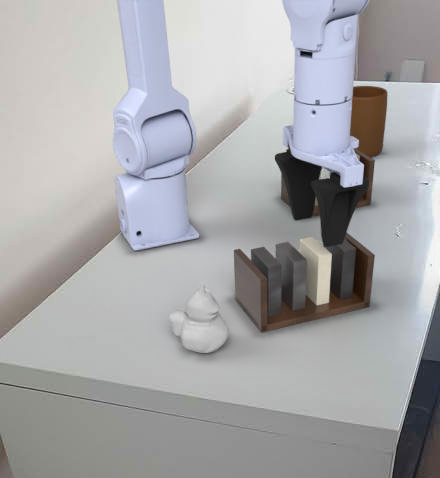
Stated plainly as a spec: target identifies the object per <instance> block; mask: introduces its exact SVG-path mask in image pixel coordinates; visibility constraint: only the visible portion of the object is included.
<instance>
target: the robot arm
mask: <svg viewBox="0 0 440 478" xmlns="http://www.w3.org/2000/svg"><path fill="white" fill-rule="evenodd" d="M281 1H282V6H283V9H284V12H285V15H286V16H287V19H288V21H289V25H290V41H291V42H292V46H293V48H294V67H293V69H294V70H293V71H294V72H293V73H294V74H293V119H292V122H293V123H292V124H291V125H285V126H284V125H283V126H282V130H283V131H282V135H283V136H282V145H283V146H285V147H286V150H285V151H283V152H278V153H276V154H275V155H274V161H275V163H276V165H277V167H278V169H279V171H280V173H282V176H283V179H284V182H285V185H286V188H287V193H288V197H289V202H290V206H289V208H290V212H291V215H292V220H294V221H302V220H306V219H307V220H308V219H311V218H313V217H312V215H313V211H314V206H315V199H316V198H317V202H318V206H319V211H320V215H319V218H320V219H319V220H320V236H321V242H322V246H323V245H324V246H325V247H330V246H335V245H339V244H343V241H344V238H345V235H346V232H347V233H348V230H349V226H350V224H351V220H352V217H353V215H354V212H355V210H356V209H357V208H356V206H357V205H358V203H359V201H360V199H361V198H362V196H363V195H364V193H365V192H366V191H367V189H368V188H369V180H368V179H367V178H366V177H364V176H363V171H364V164H362V163H361V162H360V161H359V160H358V158H357V156H356V154H355V151H354V149H353V148H358V146H359V140H358V139H356V138H355V137H353V136H350V125H351V111H352V96H353V87H354V83H355V82H354V80H355V69H356V68H355V67H356V66H355V65H356V54H357V53H356V51H357V37H358V21H359V15H360V14H361V13H363V11H364V10H365V9H366V8H367V6H368V5H369V3H370V1H371V0H281ZM116 4H117V12H118V19H119V26H120V33H121V41H122V50H123V56H124V64H125V69H126V70H125V71H126V78H127V86H128V88H127V91H126V92H125V93H124V95H123V96H122V98H121V99H120V100H119V101H118V103H117V104H116V106H115V107H114V109H113V110H112V116H113V132H112V149H113V152H114V155H115V158H116V160H117V162H118V163H119V165H120V166H121V168H122V169H123V170H124V171H125V173H121V174H119V175H116V176H114V191H115V197H116V205H117V212H118V219H119V225H120V226H119V230H120V232H121V233H122V235H123V238H125V239H126V241H127V242H128V245H129V246H130V247H131V249H132V251H133V250H134V251H141V250H146V249H151V248H155V247H160V246H165V245H171V244H176V243H182V242H186V241H191V240H195V239H196V240H197V239H199V238H200V233H199V232H198V231H197V229H196V228H195V227H194V226H193V225H192V223H190V216H189V204H188V202H189V201H188V191H187V190H188V189H187V179H186V178H187V177H186V167H187V166H189V165H190V156H192V155H193V154H194V151H195V149H196V148H197V147H196V146H197V130H196V127H195V124H194V121H193V119H192V116H191V112H190V102H189V99H188V98H187V97H186V96H185V95H183V93H182V92H180V91H179V90H177V89H176V88H175V87H174V86H173V83H172V82H173V81H172V73H171V72H172V71H171V62H170V52H169V43H168V41H169V40H168V33H167V32H168V31H167V22H166V12H165V3H164V0H116ZM323 169H325V171H327V172H328V173H329V177H327V178H321V179H320V180H319V176H320V173H321V174H322V170H323Z"/></svg>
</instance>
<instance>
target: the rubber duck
mask: <svg viewBox="0 0 440 478" xmlns="http://www.w3.org/2000/svg"><path fill="white" fill-rule="evenodd" d="M220 310H221V306H220V304H219V302H218V301H217V300H216V298H215V297H214V296H213V294H212V291H210V290H209V289H208V288H207V287H206V286H205V281H202V283H201V285H200V287H199V288H198V289H196V291H194V292H192V293H191V294H190V296H189V297H188V298H187V300H186V302H185V311H186V312H185V311H182V310H174V311H172V312H171V313H170V314H169V316H168V317H169V321H170V323H171V326H172V334H173V335H174V336H176V337H180V339H181V343H182V346H183V347H184V349H185V350H188V351H192V352H195V353H201V354H209V353H212V352H215V351H217V350H218V349H219V348H221V347H222V346H223V345H224V344H225V343H226V341H227V339H228V338H229V335H230V333H229V331H230V330H229V327H228V325H227V323H226V321H225V320H224V318H223V316H222V315H221V314H220V313H219V311H220Z"/></svg>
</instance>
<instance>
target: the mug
mask: <svg viewBox="0 0 440 478" xmlns="http://www.w3.org/2000/svg"><path fill="white" fill-rule="evenodd" d="M388 94H389V93H388V90H387V89H386V88H383V87H381V86H376V85H355V86H353V96H352V111H351V125H350V136H353V137H355V138H356V139H358V140H359V146H358V148H356V149H358V150H359V151H361V152H362V153H364V154H366V155H367V156H369V157H370V158H374V157H376V156H379V155H380V154H381V153H382V150H383V147H384V139H385V131H386V130H385V129H386V121H387V110H388Z"/></svg>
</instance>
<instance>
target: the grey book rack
mask: <svg viewBox="0 0 440 478" xmlns="http://www.w3.org/2000/svg"><path fill="white" fill-rule="evenodd" d="M322 246H323V247H324V248H326V249H327V250H328V251H329V252H330V253H331V254H332V260H331V276H330V293H329V303H326V304H322V305H315V303H314V302H313V301H312V300H311V299H310V298H309V297H308V296H307V295H306V270H307V259H306V258H305V257H304V256H303V255H302V254H301V253H300V252H299V250H298V249H296V248H295V247H294V246H293V244H291V243H290V242H289V241H285V242H280V243H275V256H274V255H273V254H271V252H270V251H269V250H268V249H267V248H266V247H265V246H259V247H255V248H251V249H250V257H248V256H247V255H246V254H245V252H244V251H243V250H242V249H241V248H236V249H233V269H234V271H233V272H234V297H235V299H234V300H235V302H236V303H237V304H238V306H239V307H240V308H241V309H242V311H243V312H244V313H245V314H246V316H247V317H248V318H249V320H250V321H251V322H252V323H253V324H254V326H255V327H256V328H257V330H259V332H260V333H264V332H268V331H273V330H277V329H281V328H286V327H289V326H294V325H298V324H302V323H307V322H311V321H315V320H319V319H324V318H327V317H332V316H336V315H341V314H344V313H349V312H353V311H357V310H358V311H359V310H361V309H366V308H370V307H371V296H372V287H373V278H374V277H373V276H374V268H375V258H376V255H375V254H374V253H373V252H372V251H371V250H369V248H367V247H366V246H364V244H362V243H361V242H359V241H358V240H357V239H356V238H355V237H353V236H352V235H351V234H350V233H348V231H347V232H346V235H345V238H344V241H343V244H339V245H335V246H330V247H325V246H324V245H323V244H322Z"/></svg>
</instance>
